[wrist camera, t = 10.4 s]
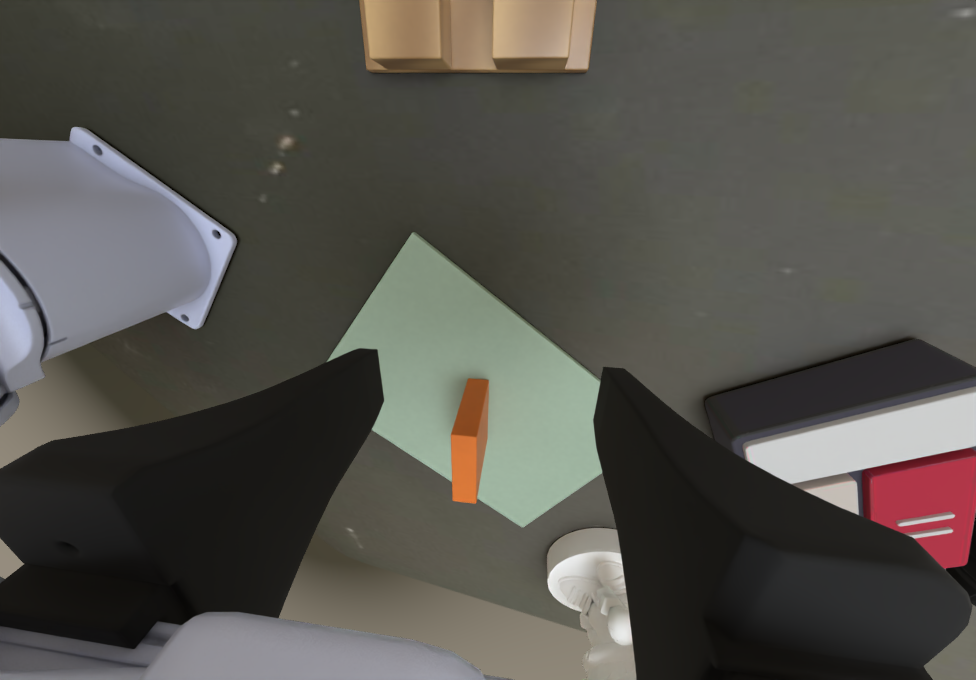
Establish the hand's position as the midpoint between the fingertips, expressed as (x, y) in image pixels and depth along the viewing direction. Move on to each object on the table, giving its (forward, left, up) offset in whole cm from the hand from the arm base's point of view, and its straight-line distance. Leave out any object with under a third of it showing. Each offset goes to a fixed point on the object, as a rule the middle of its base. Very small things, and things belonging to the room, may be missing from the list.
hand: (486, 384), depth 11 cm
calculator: (+23, +4, -11) cm, 26 cm away
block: (+4, -8, -10) cm, 13 cm away
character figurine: (+22, -14, -11) cm, 28 cm away
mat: (+4, -8, -10) cm, 14 cm away
